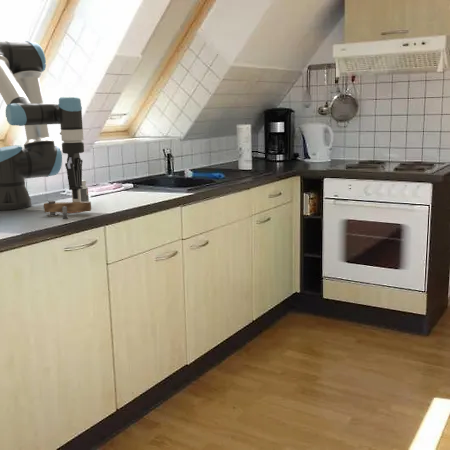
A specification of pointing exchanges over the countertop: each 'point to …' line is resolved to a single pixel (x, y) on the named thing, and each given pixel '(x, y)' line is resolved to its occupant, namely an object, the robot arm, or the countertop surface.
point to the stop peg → (64, 212)
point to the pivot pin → (53, 214)
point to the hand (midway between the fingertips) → (77, 207)
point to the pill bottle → (84, 192)
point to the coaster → (75, 211)
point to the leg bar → (71, 206)
